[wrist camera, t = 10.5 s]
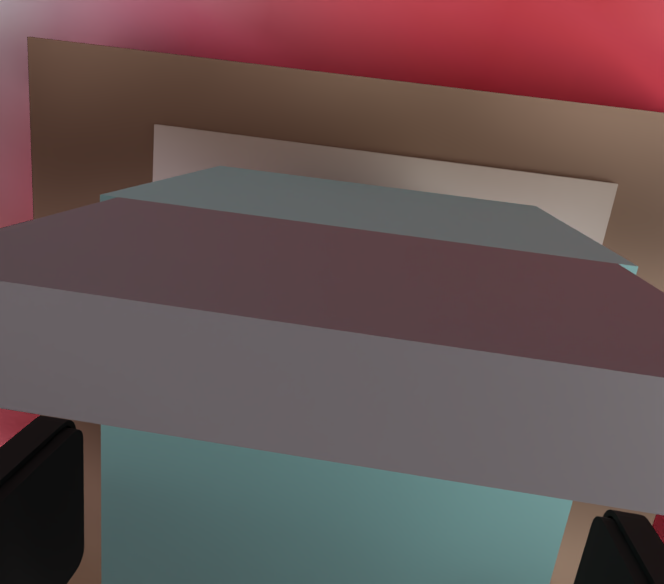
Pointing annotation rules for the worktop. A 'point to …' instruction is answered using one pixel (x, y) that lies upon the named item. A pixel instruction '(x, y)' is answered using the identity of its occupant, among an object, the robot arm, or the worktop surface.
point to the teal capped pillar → (335, 377)
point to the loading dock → (337, 162)
